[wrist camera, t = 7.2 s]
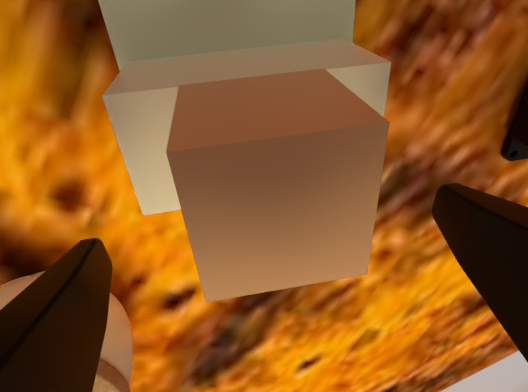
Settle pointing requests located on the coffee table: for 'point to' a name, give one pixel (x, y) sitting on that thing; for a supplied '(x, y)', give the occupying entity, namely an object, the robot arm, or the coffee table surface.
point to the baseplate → (219, 25)
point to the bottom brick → (215, 69)
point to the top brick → (276, 180)
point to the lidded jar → (114, 345)
